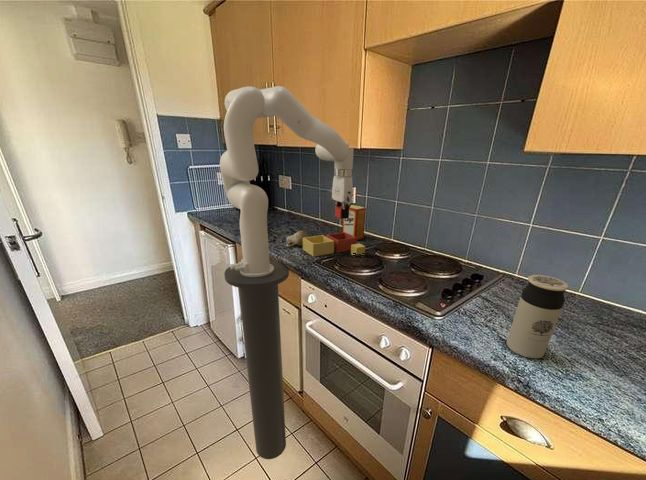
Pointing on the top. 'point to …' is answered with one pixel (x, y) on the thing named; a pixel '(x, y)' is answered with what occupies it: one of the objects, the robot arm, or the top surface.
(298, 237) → the beige animal figurine
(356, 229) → the baking soda box
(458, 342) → the top surface
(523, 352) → the travel mug
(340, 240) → the red bin
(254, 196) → the robot arm
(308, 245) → the yellow bin
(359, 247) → the yellow block
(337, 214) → the red block
